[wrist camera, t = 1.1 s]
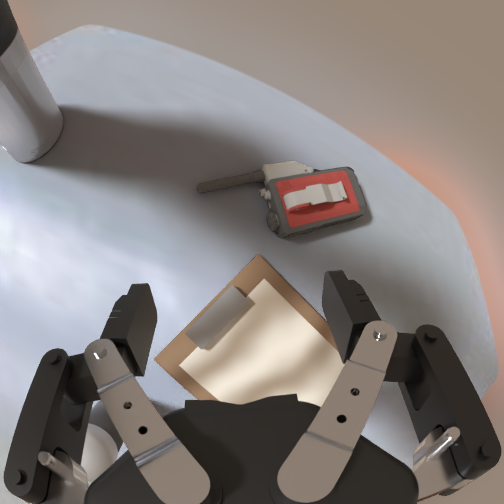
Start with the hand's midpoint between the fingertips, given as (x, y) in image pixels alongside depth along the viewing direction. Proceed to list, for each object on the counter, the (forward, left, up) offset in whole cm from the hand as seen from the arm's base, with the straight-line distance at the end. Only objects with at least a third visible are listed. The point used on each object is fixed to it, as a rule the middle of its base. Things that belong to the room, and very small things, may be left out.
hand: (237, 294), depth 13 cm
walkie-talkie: (-2, +14, -19) cm, 24 cm away
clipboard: (+11, -1, -19) cm, 22 cm away
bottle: (+1, -16, -19) cm, 25 cm away
